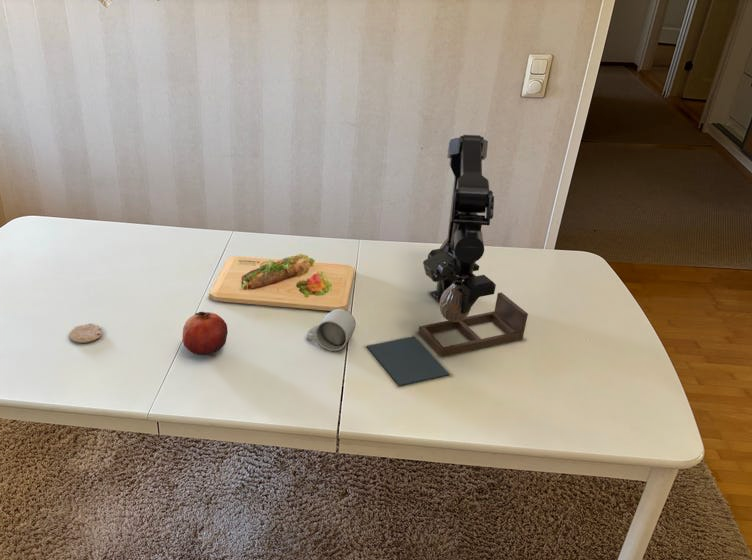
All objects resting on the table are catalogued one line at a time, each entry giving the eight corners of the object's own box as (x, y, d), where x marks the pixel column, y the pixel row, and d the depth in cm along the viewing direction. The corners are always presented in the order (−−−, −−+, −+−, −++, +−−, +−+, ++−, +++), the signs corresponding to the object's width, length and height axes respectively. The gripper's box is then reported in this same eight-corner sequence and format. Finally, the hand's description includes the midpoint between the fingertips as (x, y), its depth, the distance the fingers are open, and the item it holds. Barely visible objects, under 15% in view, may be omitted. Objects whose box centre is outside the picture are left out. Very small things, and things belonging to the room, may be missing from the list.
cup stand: (418, 333, 171) (421, 307, 167) (496, 317, 176) (501, 292, 172) (441, 357, 162) (445, 330, 158) (522, 339, 168) (528, 313, 164)
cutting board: (354, 270, 197) (356, 245, 193) (345, 314, 178) (347, 287, 174) (229, 260, 203) (228, 236, 199) (207, 302, 184) (205, 275, 180)
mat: (366, 347, 166) (366, 345, 166) (413, 337, 169) (414, 336, 169) (399, 386, 153) (399, 384, 153) (449, 375, 157) (449, 373, 156)
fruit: (192, 368, 160) (189, 329, 154) (176, 346, 167) (172, 308, 161) (236, 355, 164) (234, 317, 158) (218, 334, 171) (216, 297, 165)
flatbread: (100, 343, 168) (99, 339, 168) (67, 344, 168) (66, 341, 167) (104, 325, 175) (103, 321, 174) (72, 326, 174) (72, 322, 174)
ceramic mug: (356, 336, 170) (358, 307, 165) (346, 354, 163) (347, 325, 159) (314, 328, 173) (314, 299, 169) (302, 345, 167) (302, 316, 163)
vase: (469, 326, 161) (475, 292, 156) (437, 323, 162) (442, 289, 157) (468, 311, 166) (474, 277, 161) (438, 308, 168) (442, 274, 163)
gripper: (409, 229, 159) (403, 292, 168) (454, 266, 144) (444, 333, 153) (454, 222, 162) (446, 284, 171) (502, 258, 147) (490, 323, 156)
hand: (455, 305), depth 163 cm, fingers closed on vase, 7 cm apart
